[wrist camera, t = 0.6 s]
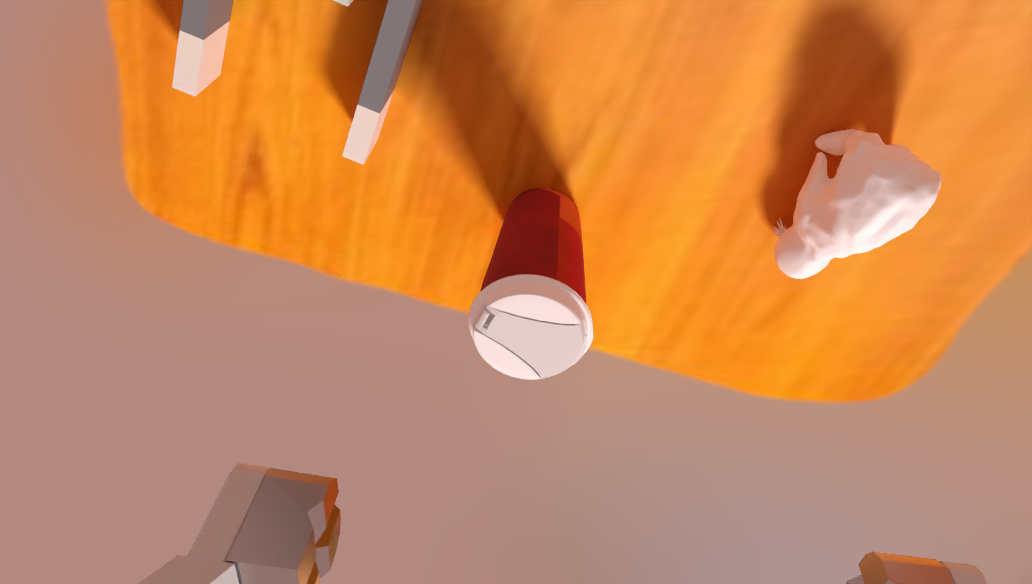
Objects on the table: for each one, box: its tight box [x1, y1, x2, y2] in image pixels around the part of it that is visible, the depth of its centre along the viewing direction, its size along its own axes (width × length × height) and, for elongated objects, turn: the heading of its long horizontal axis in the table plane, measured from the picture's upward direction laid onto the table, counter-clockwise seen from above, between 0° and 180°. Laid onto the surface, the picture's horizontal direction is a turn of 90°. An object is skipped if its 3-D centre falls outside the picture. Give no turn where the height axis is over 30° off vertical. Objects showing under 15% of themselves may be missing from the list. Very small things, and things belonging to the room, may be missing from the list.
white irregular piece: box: [772, 129, 941, 279], centre depth 49 cm, size 6×8×12 cm
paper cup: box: [469, 188, 593, 379], centre depth 50 cm, size 8×8×14 cm
